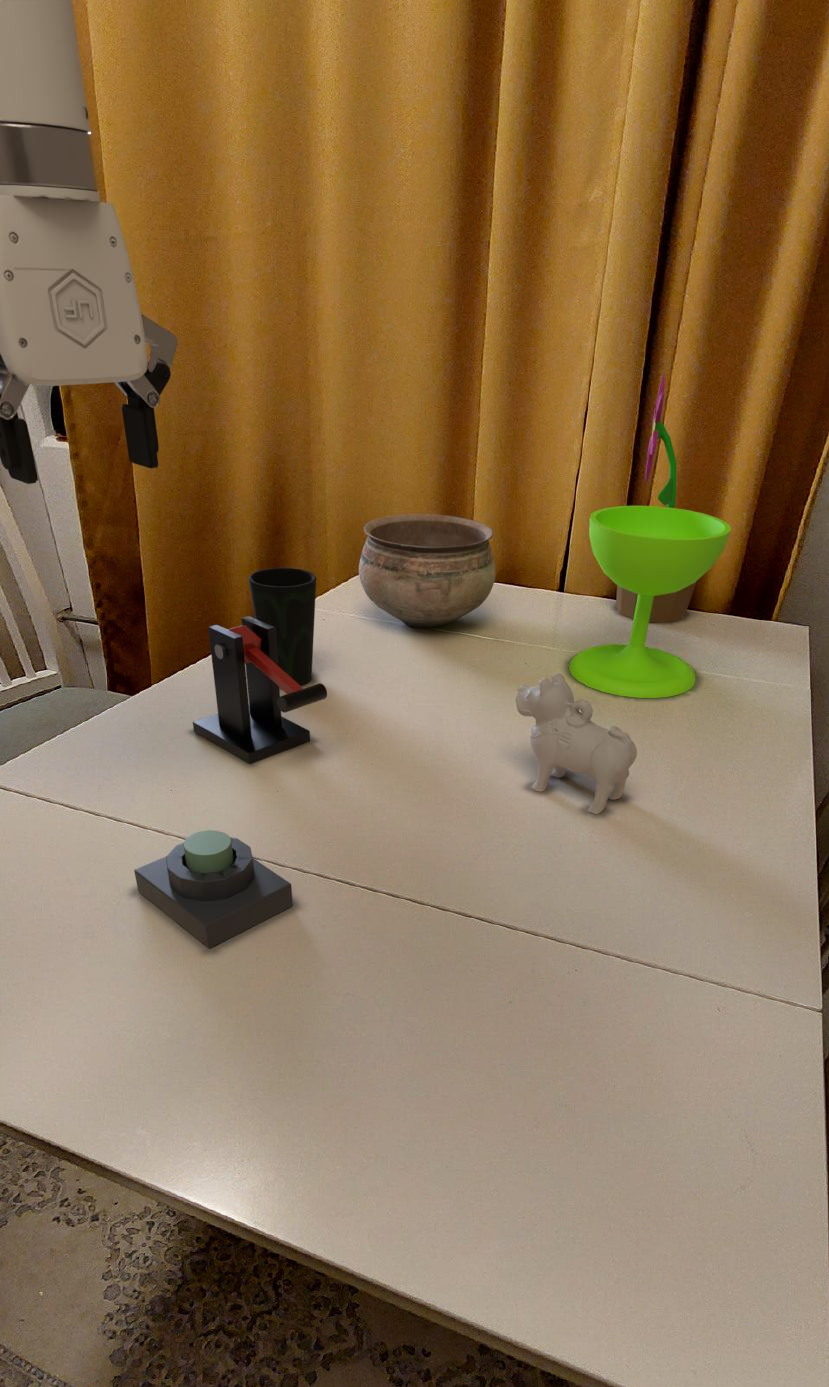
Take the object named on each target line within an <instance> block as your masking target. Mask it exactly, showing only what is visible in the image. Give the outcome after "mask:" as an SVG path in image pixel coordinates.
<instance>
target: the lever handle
mask: <svg viewBox="0 0 829 1387" xmlns="http://www.w3.org/2000/svg"><path fill="white" fill-rule="evenodd" d="M227 630H229V631H231V632H234V633H236V634H238V635H240V636H242V637H243V647H244V658H245V665H246V664H247V663H250V662H252V663H253V664H255V665H256V666H257V667H258V668H259V669H260V670H261V671H262V672H263V673H265V674H266V675H267V676H268V677H269V678H270V679H271V680H272V681H273V682H274V683H276V684H277V685H278V686H279V689H281V691H283V692H284V693H285V694H283V695H280V697H278V699H277V704H278V707H279V709H280V710H281V713H284V714H285V713H289V712H291V711H294V710H297V709H300V708H304V707H306V706H308V705H311V704H314V703H317V702H320V701H323V700H325V699H326V698H327V697H328V689H327V687H326V686H325V684H323V683H321V682H320V683H319V682H318V683H315V684H313V685H311V686H306V687H304V688H303V687H302V686H300V685H299V684H298V683H297V682H295V681H294V680H293V679H292V678H291V677H290V676H289V675H288V674H287V673H285V672H284V671H283V670H282V669H281V668H280V667H279V666H278V665H276V664H275V663H274V662H273V661H272V660H271V659H270V658H269V657H267V656H266V655H265V654H264V653H263V652H262V651H261V650H260V649H261V639H260V638H259V637H258V636H257V635H256V634H255V633H254V632H253V631H251V630H250V629H249V628H248V627H247V626H246V625H243V626H242V625H240V626H235V627H232V628H228V629H227Z"/></svg>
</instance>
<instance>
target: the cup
mask: <svg viewBox="0 0 829 1387" xmlns="http://www.w3.org/2000/svg"><path fill="white" fill-rule="evenodd" d="M248 584H249V590H250V596H251V602H252V607H253V614H254V619H257V620H259V621H261V622H264V623H266V624H268V625H271V626H273V627H275V629H276V644H277V659H278V666H279V667H280V668H281V669H282V670H283V671H284V672H285V673H287V674H288V675H289V676H290V677H291V678H292V679H293V680H294V681H295V682H297V683H298V684H299V685H300V686H301V687H302V686H304V685H307V684H309V683H310V682H311V681H312V678H313V677H312V676H313V657H314V656H313V655H314V636H315V634H314V633H315V617H316V616H315V614H316V613H315V612H316V596H317V595H316V594H317V593H316V592H317V576H316V574H314V573H313V572H311V571H310V570H306V569H302V568H295V567H271V568H270V567H269V568H265V569H260V570H257V571H254V572H251V574H250V575H249V576H248Z"/></svg>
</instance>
